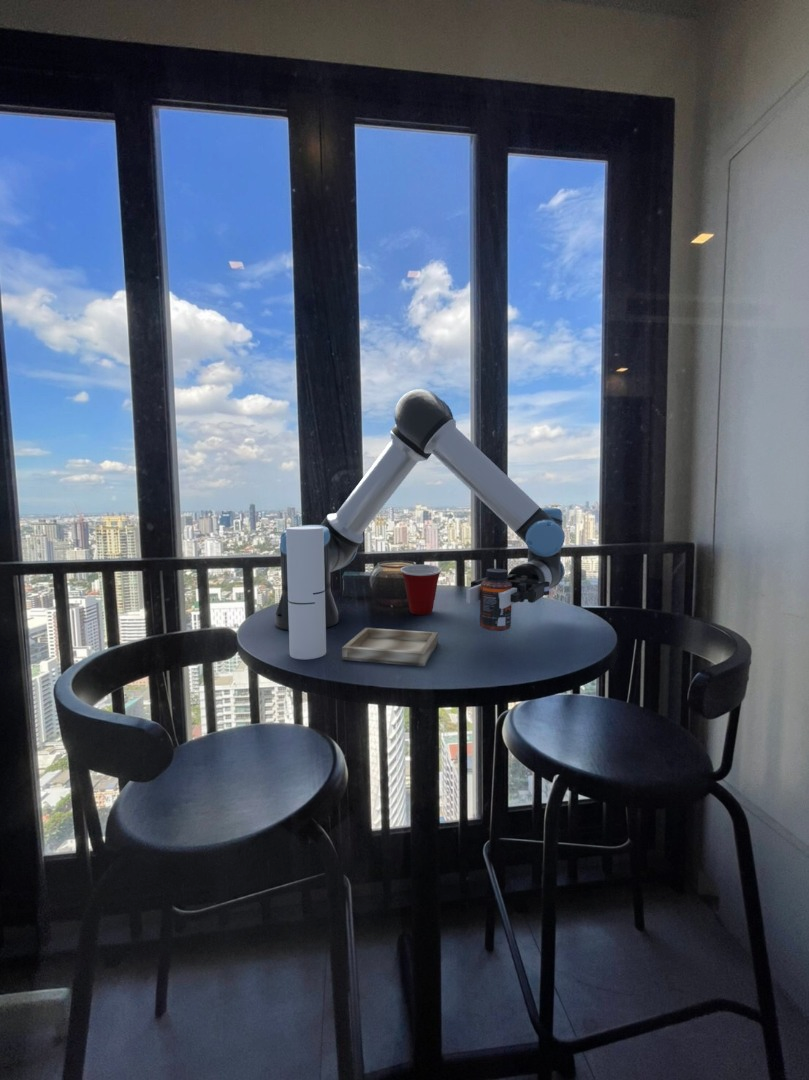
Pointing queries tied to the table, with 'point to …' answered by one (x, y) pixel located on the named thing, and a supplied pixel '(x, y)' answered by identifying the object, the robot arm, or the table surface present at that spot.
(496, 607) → the supplement bottle
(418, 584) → the plastic cup
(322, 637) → the cylindrical container
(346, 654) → the tray
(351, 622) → the table surface
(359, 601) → the table surface
